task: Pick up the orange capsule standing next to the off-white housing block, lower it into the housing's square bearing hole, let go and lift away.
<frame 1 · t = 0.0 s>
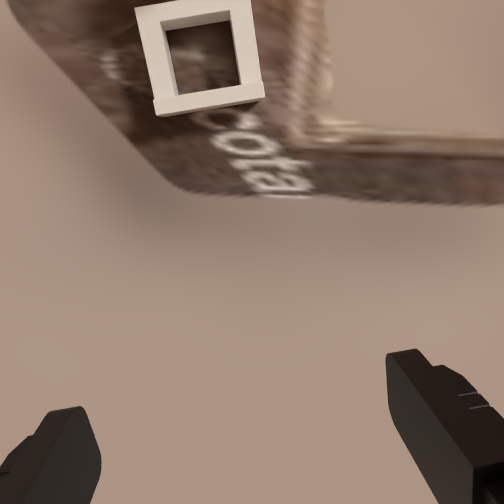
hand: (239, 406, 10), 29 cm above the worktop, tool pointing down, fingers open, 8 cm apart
housing: (204, 61, 34), on the worktop
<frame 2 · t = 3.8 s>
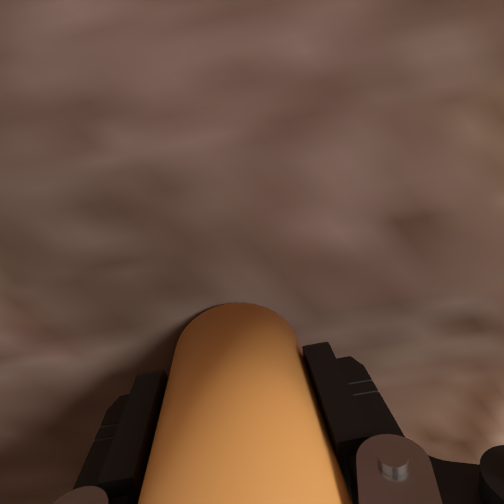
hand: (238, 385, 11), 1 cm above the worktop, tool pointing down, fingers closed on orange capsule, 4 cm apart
orange capsule: (238, 360, 12), on the worktop, touching gripper
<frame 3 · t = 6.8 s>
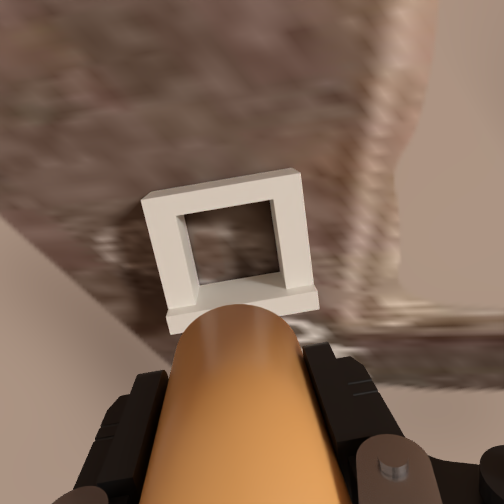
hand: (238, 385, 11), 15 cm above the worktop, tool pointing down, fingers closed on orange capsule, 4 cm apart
housing: (232, 239, 25), on the worktop
orange capsule: (238, 361, 12), point 14 cm above the worktop, touching gripper
when the fingers open (4 cm above the worktop, at t = 9.8 s): orange capsule drops 2 cm, resting in housing.
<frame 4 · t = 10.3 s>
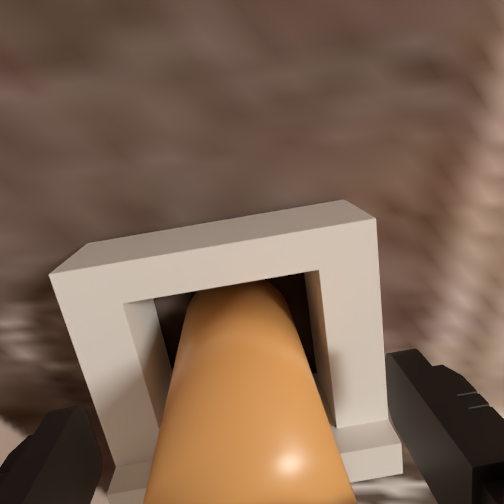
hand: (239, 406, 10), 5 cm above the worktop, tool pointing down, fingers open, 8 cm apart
housing: (235, 323, 14), on the worktop
orange capsule: (238, 323, 14), resting in housing
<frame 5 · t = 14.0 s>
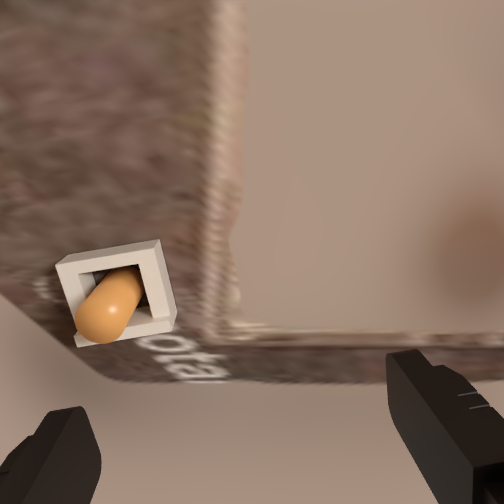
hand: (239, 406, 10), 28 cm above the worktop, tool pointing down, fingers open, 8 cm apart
housing: (124, 284, 39), on the worktop
orange capsule: (125, 284, 39), resting in housing
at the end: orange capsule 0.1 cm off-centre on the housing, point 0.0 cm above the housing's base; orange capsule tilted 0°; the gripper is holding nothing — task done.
